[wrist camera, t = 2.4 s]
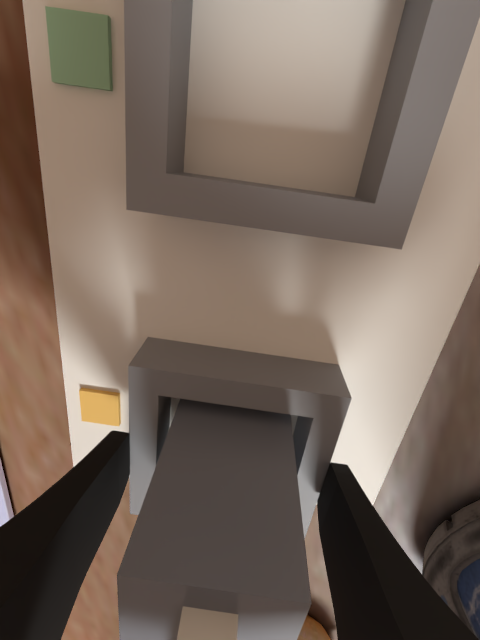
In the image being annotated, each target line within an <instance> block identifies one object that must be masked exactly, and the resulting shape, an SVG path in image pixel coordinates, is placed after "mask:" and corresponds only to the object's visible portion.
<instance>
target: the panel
mask: <svg viewBox="0 0 480 640" xmlns="http://www.w3.org/2000/svg"><path fill="white" fill-rule="evenodd" d="M22 1H23V10H24V19H25V28H26V38H27V47H28V56H29V65H30V74H31V83H32V92H33V102H34V111H35V120H36V129H37V138H38V147H39V156H40V165H41V175H42V184H43V193H44V202H45V211H46V220H47V229H48V239H49V248H50V257H51V266H52V275H53V284H54V293H55V303H56V312H57V321H58V330H59V339H60V348H61V357H62V366H63V376H64V385H65V394H66V403H67V412H68V421H69V430H70V440H71V449H72V458H73V467H74V466H75V465H77V464H78V463H79V462H80V461H81V460H82V459H83V458H84V457H85V456H86V455H87V454H88V453H89V452H90V451H91V450H92V449H93V448H94V447H95V446H96V445H97V444H98V443H99V442H101V441H102V440H103V439H104V438H105V436H106V435H107V434H108V433H109V432H111V431H112V430H114V431H121V432H128V433H130V475H129V477H130V514H135V515H139V512H140V510H141V507H142V504H143V501H144V498H145V496H146V493H147V490H148V487H149V484H150V482H151V479H152V476H153V473H154V471H155V468H156V465H157V462H158V459H159V457H160V454H161V451H162V448H163V445H164V443H165V440H166V437H167V434H168V431H169V429H170V426H171V423H172V420H173V417H174V415H175V412H176V409H177V406H178V403H179V401H180V399H187V400H194V401H200V402H207V403H214V404H221V405H228V406H235V407H242V408H248V409H255V410H262V411H269V412H276V413H283V414H289V415H291V423H292V432H293V441H294V450H295V459H296V468H297V477H298V486H299V495H300V504H301V513H302V522H303V531H304V539H305V536H306V533H307V530H308V527H309V524H310V521H311V518H312V515H313V512H314V509H315V506H316V504H317V500H318V497H319V494H320V491H321V488H322V485H323V482H324V479H325V476H326V473H327V470H328V467H329V464H330V462H332V463H339V464H346V465H348V466H349V468H350V469H351V471H352V473H353V474H354V476H355V478H356V479H357V481H358V483H359V484H360V486H361V488H362V489H363V491H364V492H365V494H366V496H367V497H368V499H369V500H370V502H371V504H372V505H373V504H374V502H375V500H376V497H377V495H378V493H379V490H380V488H381V486H382V484H383V481H384V479H385V477H386V475H387V472H388V470H389V468H390V466H391V463H392V461H393V459H394V457H395V454H396V452H397V450H398V448H399V445H400V443H401V441H402V439H403V436H404V434H405V432H406V429H407V427H408V425H409V423H410V420H411V418H412V416H413V414H414V411H415V409H416V407H417V405H418V402H419V400H420V398H421V396H422V393H423V391H424V389H425V387H426V384H427V382H428V380H429V378H430V375H431V373H432V371H433V368H434V366H435V364H436V362H437V359H438V357H439V355H440V353H441V350H442V348H443V346H444V344H445V341H446V339H447V337H448V335H449V332H450V330H451V328H452V326H453V323H454V321H455V319H456V317H457V314H458V312H459V310H460V307H461V305H462V303H463V301H464V298H465V296H466V294H467V292H468V289H469V287H470V285H471V283H472V280H473V278H474V276H475V274H476V271H477V269H478V267H479V265H480V0H22Z"/></svg>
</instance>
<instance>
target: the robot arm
mask: <svg viewBox="0 0 480 640" xmlns="http://www.w3.org/2000/svg"><path fill="white" fill-rule="evenodd" d="M129 475H130V433H128V432H121V431H114V430H112V431H111V432H109V433H108V434H107V435H106V436H105V438H104V439H103V440H102V441H101V442H99V443H98V444H97V445H96V446H95V447H94V448H93V449H92V450H91V451H90V452H89V453H88V454H87V455H86V456H85V457H84V458H83V459H82V460H81V461H80V462H79V463H78V464H77V465H75V466H74V467H73V468H72V469H71V470H70V471H69V472H68V473H67V474H66V475H64V476H63V477H62V478H61V479H60V480H59V481H58V482H56V483H55V484H54V485H53V486H52V487H50V488H49V489H48V490H47V491H46V492H44V493H43V494H42V495H41V496H40V497H38V498H37V499H36V500H35V501H34V502H32V503H31V504H30V505H28V506H27V507H26V508H25V509H23V510H22V511H21V512H19V513H18V514H17V515H15V516H14V515H13V510H12V506H11V502H10V498H9V493H8V489H7V485H6V480H5V476H4V472H3V468H2V463H1V459H0V640H61V637H62V635H63V632H64V629H65V626H66V624H67V621H68V618H69V616H70V613H71V611H72V608H73V605H74V603H75V600H76V597H77V595H78V592H79V590H80V587H81V585H82V583H83V580H84V578H85V576H86V573H87V571H88V569H89V567H90V565H91V563H92V561H93V559H94V556H95V554H96V552H97V550H98V548H99V546H100V544H101V542H102V540H103V538H104V535H105V533H106V531H107V529H108V527H109V525H110V523H111V521H112V519H113V516H114V514H115V512H116V510H117V508H118V506H119V504H120V501H121V498H122V495H123V493H124V490H125V487H126V484H127V481H128V478H129ZM317 507H318V521H319V532H320V538H321V544H322V549H323V555H324V560H325V565H326V571H327V576H328V581H329V586H330V592H331V597H332V602H333V608H334V614H335V620H336V627H337V637H338V640H479V639H478V638H477V637H476V636H475V635H474V634H473V633H472V631H471V630H470V629H469V628H468V627H467V626H466V625H465V624H464V623H463V622H462V621H461V619H460V618H459V617H458V616H457V615H456V614H455V613H454V612H453V611H452V610H451V609H450V608H449V606H448V605H447V604H446V603H445V602H444V601H443V599H442V598H441V597H440V596H439V595H438V594H437V592H436V591H435V590H434V589H433V588H432V586H431V585H430V584H429V583H428V582H427V580H426V579H425V578H424V577H423V575H422V574H421V573H420V572H419V570H418V569H417V568H416V566H415V565H414V564H413V563H412V561H411V560H410V559H409V557H408V556H407V555H406V553H405V552H404V550H403V549H402V548H401V546H400V545H399V544H398V542H397V541H396V539H395V538H394V537H393V535H392V534H391V532H390V531H389V529H388V528H387V526H386V525H385V523H384V522H383V520H382V519H381V517H380V516H379V514H378V513H377V511H376V510H375V508H374V507H373V505H372V504H371V502H370V500H369V499H368V497H367V496H366V494H365V492H364V491H363V489H362V488H361V486H360V484H359V483H358V481H357V479H356V478H355V476H354V474H353V473H352V471H351V469H350V468H349V466H348V465H346V464H339V463H332V462H330V464H329V467H328V470H327V473H326V476H325V479H324V482H323V485H322V488H321V491H320V494H319V497H318V500H317Z"/></svg>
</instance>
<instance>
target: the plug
mask: <svg viewBox="0 0 480 640" xmlns="http://www.w3.org/2000/svg"><path fill="white" fill-rule="evenodd" d="M117 585H118V609H119V633H120V640H297V639H298V636H299V634H300V631H301V629H302V626H303V624H304V621H305V619H306V616H307V614H308V611H309V609H310V606H311V595H310V586H309V577H308V568H307V558H306V549H305V540H304V531H303V522H302V513H301V504H300V495H299V486H298V477H297V468H296V459H295V450H294V441H293V432H292V423H291V415H289V414H283V413H276V412H269V411H262V410H255V409H248V408H242V407H235V406H228V405H221V404H214V403H207V402H200V401H194V400H187V399H180V401H179V403H178V406H177V409H176V412H175V415H174V417H173V420H172V423H171V426H170V429H169V431H168V434H167V437H166V440H165V443H164V445H163V448H162V451H161V454H160V457H159V459H158V462H157V465H156V468H155V471H154V473H153V476H152V479H151V482H150V484H149V487H148V490H147V493H146V496H145V498H144V501H143V504H142V507H141V510H140V512H139V515H138V518H137V521H136V524H135V526H134V529H133V532H132V535H131V538H130V540H129V543H128V546H127V549H126V551H125V554H124V557H123V560H122V563H121V565H120V568H119V571H118V574H117Z"/></svg>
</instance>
